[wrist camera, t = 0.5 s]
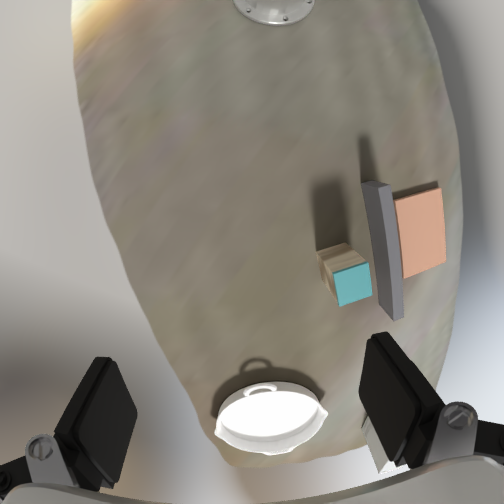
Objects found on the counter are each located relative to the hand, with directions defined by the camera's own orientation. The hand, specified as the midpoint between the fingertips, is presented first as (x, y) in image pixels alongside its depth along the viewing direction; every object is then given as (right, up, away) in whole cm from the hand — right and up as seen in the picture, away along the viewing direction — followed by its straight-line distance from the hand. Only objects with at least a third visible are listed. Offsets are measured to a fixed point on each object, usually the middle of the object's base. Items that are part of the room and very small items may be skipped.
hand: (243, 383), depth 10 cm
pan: (+4, -30, +47) cm, 56 cm away
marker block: (+13, +3, +36) cm, 38 cm away
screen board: (+21, +5, +36) cm, 42 cm away
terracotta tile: (+30, +8, +35) cm, 47 cm away
